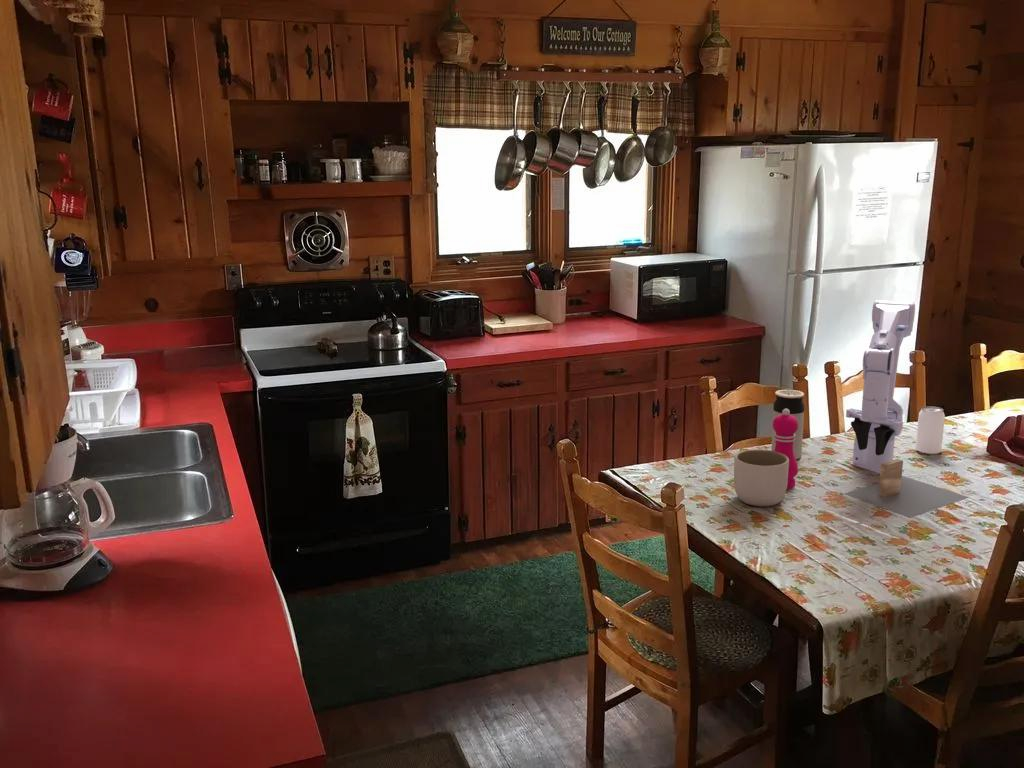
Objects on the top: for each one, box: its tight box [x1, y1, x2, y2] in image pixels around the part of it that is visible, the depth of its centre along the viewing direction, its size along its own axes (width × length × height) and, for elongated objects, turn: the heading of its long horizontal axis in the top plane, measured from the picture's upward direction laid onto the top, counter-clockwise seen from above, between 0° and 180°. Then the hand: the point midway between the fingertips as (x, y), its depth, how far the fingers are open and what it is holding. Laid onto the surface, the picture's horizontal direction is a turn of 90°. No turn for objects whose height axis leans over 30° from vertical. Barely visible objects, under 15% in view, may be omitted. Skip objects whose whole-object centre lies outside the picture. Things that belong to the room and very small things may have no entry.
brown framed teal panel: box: [878, 458, 904, 497], centre depth 212 cm, size 2×6×8 cm, turn 121°
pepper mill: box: [772, 409, 799, 489], centre depth 219 cm, size 7×7×20 cm
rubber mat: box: [843, 475, 970, 519], centre depth 212 cm, size 18×22×1 cm
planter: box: [733, 448, 789, 508], centre depth 211 cm, size 12×12×11 cm
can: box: [915, 406, 946, 455], centre depth 243 cm, size 6×6×12 cm
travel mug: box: [770, 389, 805, 460], centre depth 240 cm, size 8×8×18 cm
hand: (871, 451), depth 216 cm, fingers open, 4 cm apart
